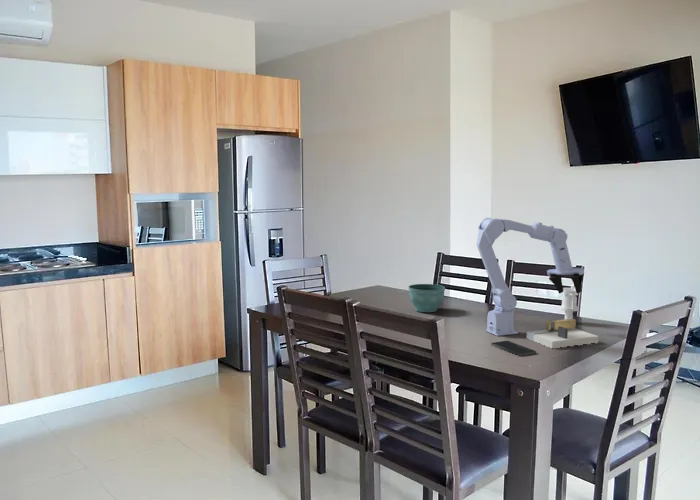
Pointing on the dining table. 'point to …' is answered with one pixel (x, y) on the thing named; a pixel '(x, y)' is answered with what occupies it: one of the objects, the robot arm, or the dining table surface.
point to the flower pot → (426, 296)
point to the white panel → (562, 337)
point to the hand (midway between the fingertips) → (570, 292)
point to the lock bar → (560, 324)
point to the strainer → (569, 302)
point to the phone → (513, 348)
